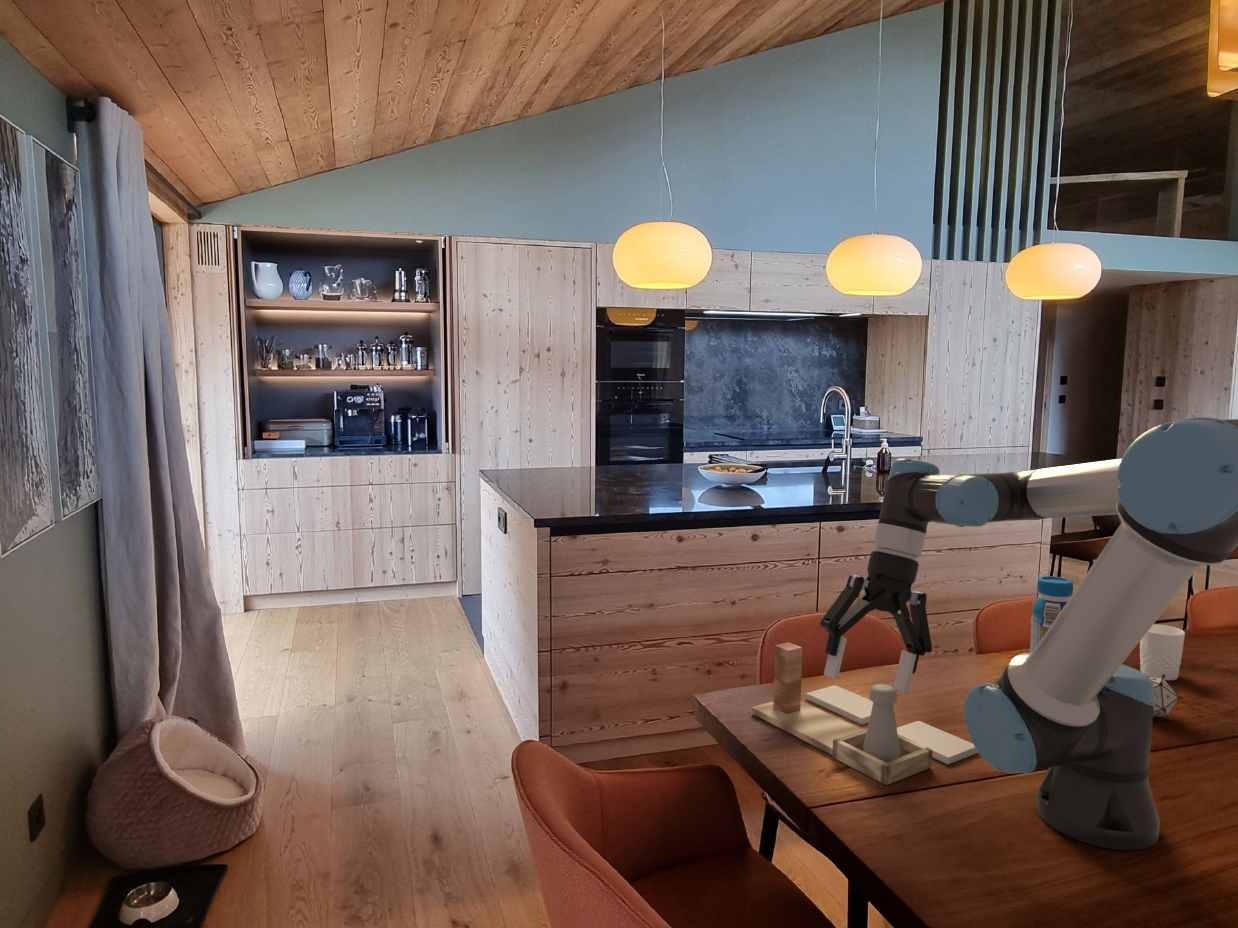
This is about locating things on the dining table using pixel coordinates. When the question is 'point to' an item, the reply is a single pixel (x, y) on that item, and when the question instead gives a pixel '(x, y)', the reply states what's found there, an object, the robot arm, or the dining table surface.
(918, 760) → the wooden tray with post
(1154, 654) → the white cup
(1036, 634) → the beverage bottle
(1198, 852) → the dining table surface
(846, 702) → the broken strip
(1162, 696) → the game die
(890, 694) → the salt shaker
